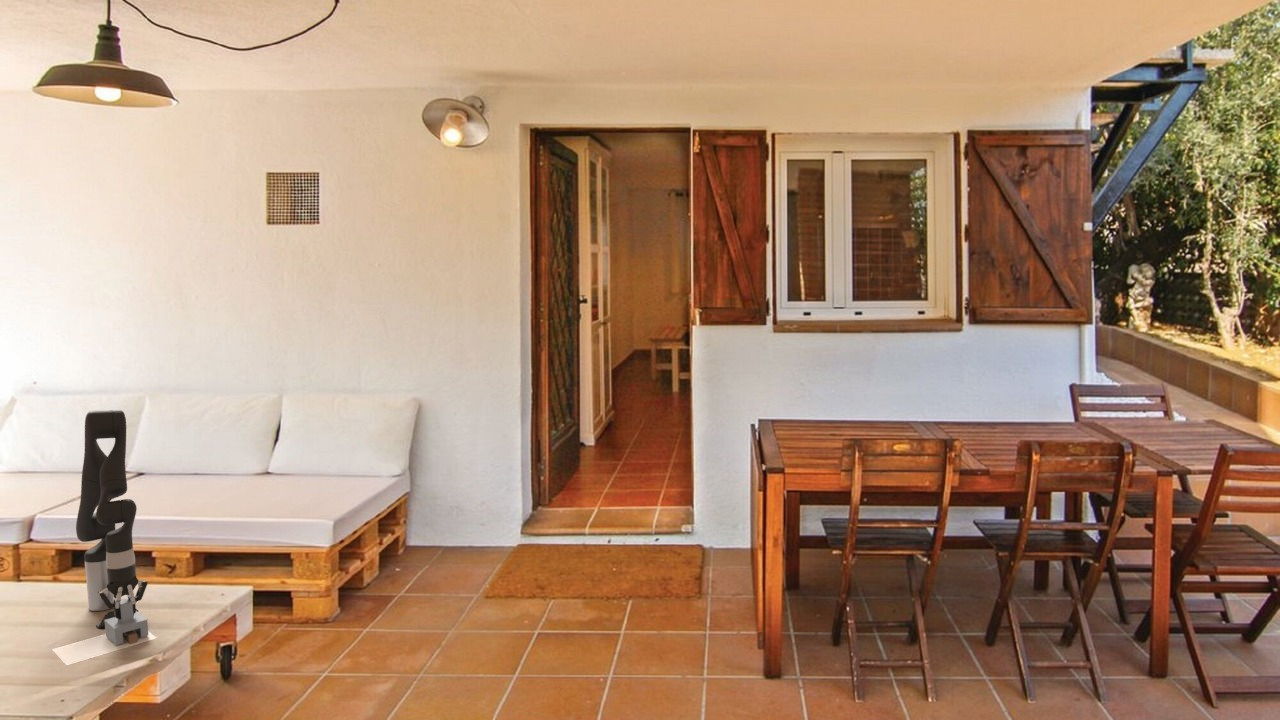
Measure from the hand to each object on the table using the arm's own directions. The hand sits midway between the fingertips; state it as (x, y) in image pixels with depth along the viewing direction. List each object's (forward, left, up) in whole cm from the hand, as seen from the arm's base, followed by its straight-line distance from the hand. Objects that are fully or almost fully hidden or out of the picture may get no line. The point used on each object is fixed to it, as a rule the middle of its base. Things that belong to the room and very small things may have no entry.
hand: (125, 616), depth 261 cm
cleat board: (0, -6, -8) cm, 10 cm away
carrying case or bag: (-18, +2, -9) cm, 20 cm away
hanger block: (0, 0, -6) cm, 6 cm away
